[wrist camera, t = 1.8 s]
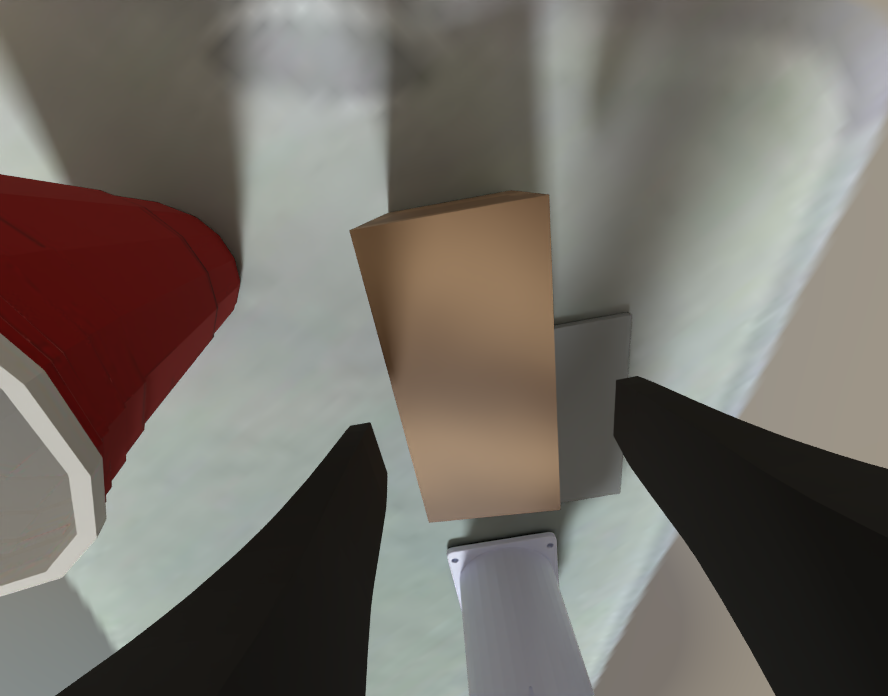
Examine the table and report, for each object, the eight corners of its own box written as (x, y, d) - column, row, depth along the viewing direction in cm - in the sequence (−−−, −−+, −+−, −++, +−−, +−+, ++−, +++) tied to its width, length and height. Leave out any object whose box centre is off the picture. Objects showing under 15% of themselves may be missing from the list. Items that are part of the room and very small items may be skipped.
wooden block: (528, 414, 20) (560, 509, 14) (435, 425, 21) (428, 522, 15) (511, 190, 15) (549, 194, 9) (388, 212, 16) (349, 230, 10)
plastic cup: (76, 357, 18) (-467, 627, 7) (10, 111, 13) (-1783, -200, 3) (294, 388, 19) (123, 654, 8) (300, 176, 15) (-47, 153, 4)
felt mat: (617, 488, 24) (620, 493, 23) (516, 505, 24) (517, 509, 24) (628, 312, 18) (631, 314, 18) (496, 335, 18) (497, 338, 18)
